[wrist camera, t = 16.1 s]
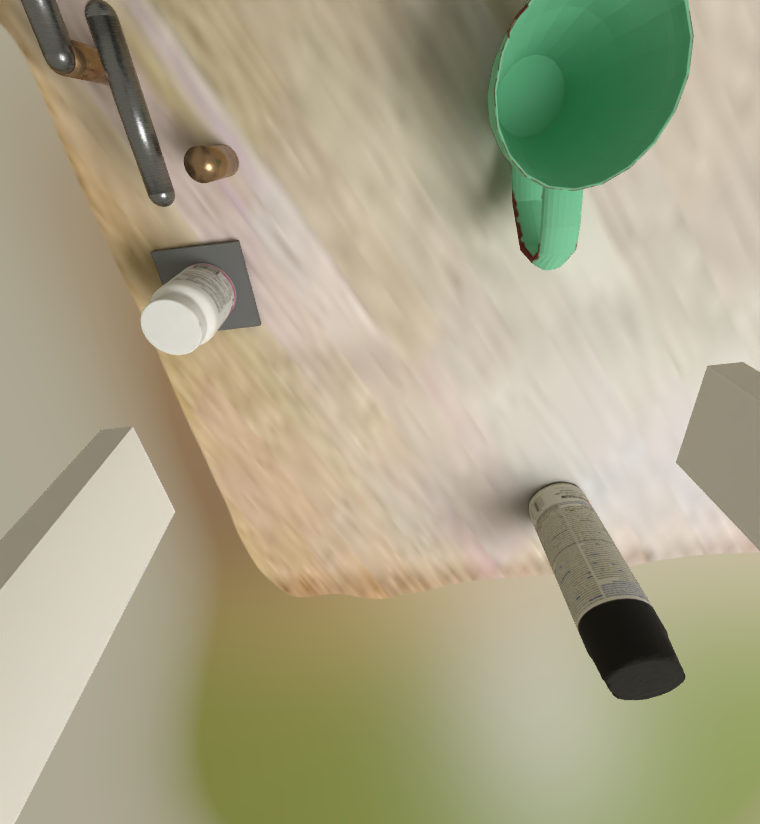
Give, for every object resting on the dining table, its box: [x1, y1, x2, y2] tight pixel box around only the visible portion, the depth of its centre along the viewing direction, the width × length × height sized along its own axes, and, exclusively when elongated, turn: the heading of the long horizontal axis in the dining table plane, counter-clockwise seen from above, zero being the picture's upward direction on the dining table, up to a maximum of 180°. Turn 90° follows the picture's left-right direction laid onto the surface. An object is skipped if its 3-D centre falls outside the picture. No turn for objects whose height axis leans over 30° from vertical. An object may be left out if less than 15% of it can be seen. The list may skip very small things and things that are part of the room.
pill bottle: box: [141, 263, 236, 355], centre depth 33 cm, size 5×5×8 cm
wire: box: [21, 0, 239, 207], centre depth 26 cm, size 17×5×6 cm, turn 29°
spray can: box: [529, 483, 685, 700], centre depth 43 cm, size 7×7×20 cm
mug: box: [487, 0, 694, 270], centre depth 27 cm, size 15×10×10 cm
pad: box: [151, 241, 261, 331], centre depth 37 cm, size 7×7×1 cm
